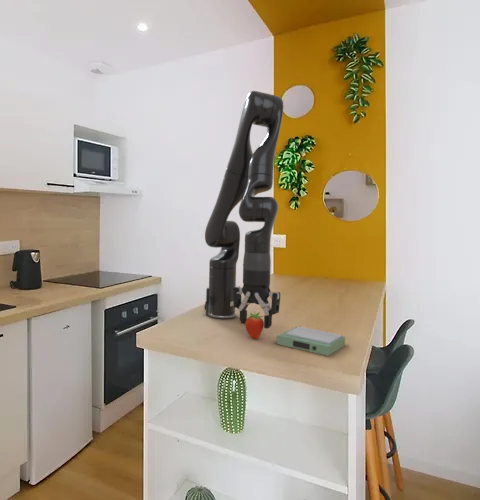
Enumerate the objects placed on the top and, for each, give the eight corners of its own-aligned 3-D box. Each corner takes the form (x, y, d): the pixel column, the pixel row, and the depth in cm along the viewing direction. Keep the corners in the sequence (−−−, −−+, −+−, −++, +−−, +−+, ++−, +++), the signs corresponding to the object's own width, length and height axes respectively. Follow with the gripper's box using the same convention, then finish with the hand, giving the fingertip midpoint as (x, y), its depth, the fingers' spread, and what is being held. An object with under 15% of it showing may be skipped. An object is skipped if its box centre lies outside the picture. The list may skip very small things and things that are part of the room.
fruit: (263, 342, 116) (264, 313, 116) (244, 340, 118) (244, 312, 117) (263, 336, 122) (264, 309, 121) (245, 335, 123) (246, 308, 122)
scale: (276, 344, 115) (276, 333, 114) (295, 335, 124) (296, 324, 123) (327, 356, 105) (328, 344, 105) (344, 345, 114) (345, 334, 114)
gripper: (286, 269, 116) (284, 327, 117) (241, 264, 126) (240, 319, 127) (274, 271, 110) (271, 333, 112) (227, 266, 120) (226, 323, 121)
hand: (255, 325), depth 119 cm, fingers open, 7 cm apart
